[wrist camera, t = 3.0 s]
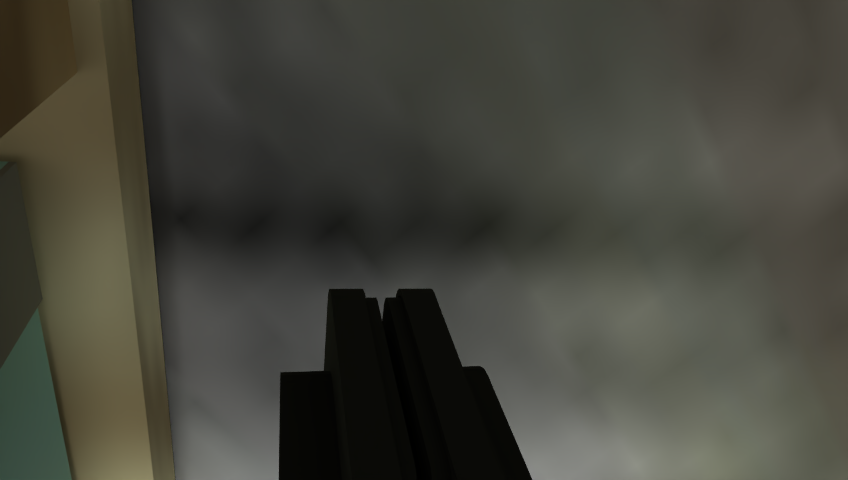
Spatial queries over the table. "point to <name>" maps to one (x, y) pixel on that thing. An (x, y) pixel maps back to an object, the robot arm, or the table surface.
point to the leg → (24, 352)
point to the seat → (89, 227)
